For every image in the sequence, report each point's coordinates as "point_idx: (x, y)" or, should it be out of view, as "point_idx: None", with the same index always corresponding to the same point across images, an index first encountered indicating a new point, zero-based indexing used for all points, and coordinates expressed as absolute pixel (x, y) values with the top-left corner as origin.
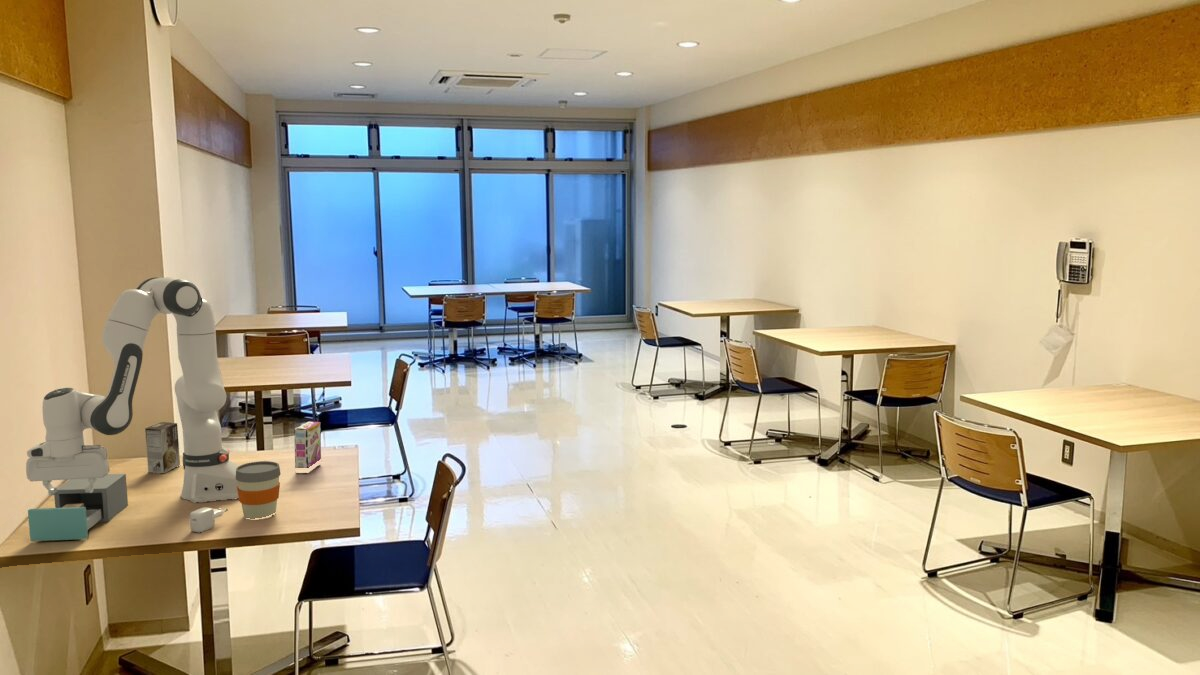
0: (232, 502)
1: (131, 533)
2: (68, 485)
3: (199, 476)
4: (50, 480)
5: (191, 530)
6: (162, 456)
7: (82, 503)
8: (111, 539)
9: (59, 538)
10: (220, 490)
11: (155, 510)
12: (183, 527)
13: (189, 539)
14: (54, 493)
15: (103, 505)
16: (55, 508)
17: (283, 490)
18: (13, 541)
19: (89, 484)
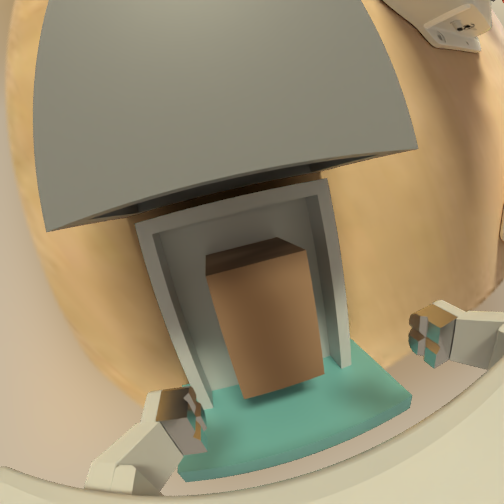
0: (477, 66)
1: (427, 266)
2: (82, 102)
3: (469, 8)
4: (146, 494)
5: (501, 239)
6: None
7: (298, 253)
8: (401, 316)
9: None
10: (463, 30)
11: None
12: (487, 212)
13: (500, 274)
14: (204, 422)
15: (339, 163)
16: (296, 452)
17: (486, 34)
18: (122, 382)
19: (472, 364)
